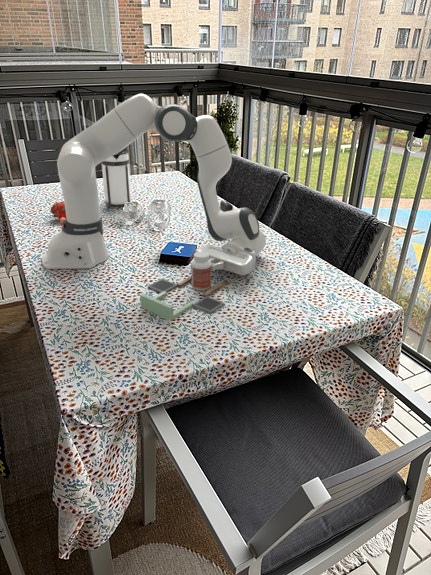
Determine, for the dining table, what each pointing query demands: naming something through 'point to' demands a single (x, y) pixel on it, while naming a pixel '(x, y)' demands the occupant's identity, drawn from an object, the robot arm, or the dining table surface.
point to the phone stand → (225, 206)
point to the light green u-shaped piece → (162, 306)
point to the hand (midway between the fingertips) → (209, 267)
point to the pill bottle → (201, 271)
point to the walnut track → (208, 290)
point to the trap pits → (203, 304)
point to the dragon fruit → (58, 210)
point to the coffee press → (117, 178)
